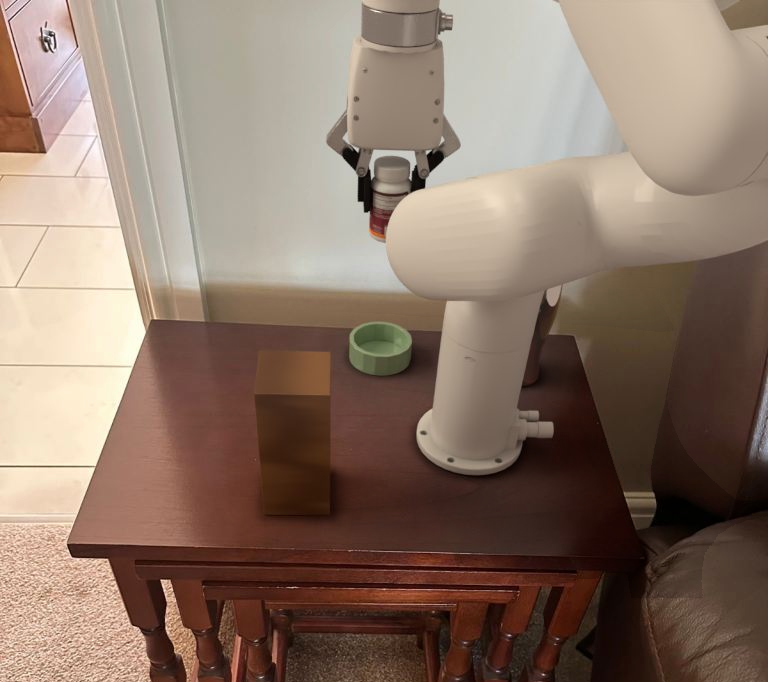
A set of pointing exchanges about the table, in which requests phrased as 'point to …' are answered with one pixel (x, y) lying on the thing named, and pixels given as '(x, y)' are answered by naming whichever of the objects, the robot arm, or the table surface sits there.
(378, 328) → the bowl
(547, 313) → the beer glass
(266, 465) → the pedestal
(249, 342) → the table surface
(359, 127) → the robot arm
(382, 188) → the pill bottle
